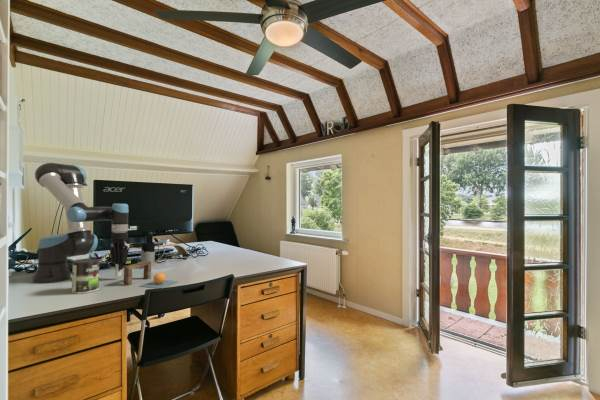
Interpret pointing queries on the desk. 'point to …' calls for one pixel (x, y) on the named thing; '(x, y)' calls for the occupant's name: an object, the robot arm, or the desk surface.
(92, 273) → the coffee can
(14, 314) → the desk surface
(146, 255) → the glass holder
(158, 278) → the ball
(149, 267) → the bridge
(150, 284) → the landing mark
